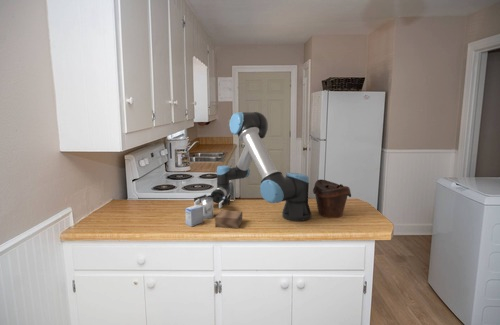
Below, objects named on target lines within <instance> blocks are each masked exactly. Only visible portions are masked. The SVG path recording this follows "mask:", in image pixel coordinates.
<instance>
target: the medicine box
mask: <svg viewBox="0 0 500 325" xmlns="http://www.w3.org/2000/svg"><path fill="white" fill-rule="evenodd" d="M184 211H185V216H184V217H185V225H186V226H188V227H194V226H196V225H199V224H202V223H204V219H203V206H201V204H199V205H194V204H193V205H191V206H189V207H186V208H185V210H184Z"/></svg>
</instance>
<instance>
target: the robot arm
mask: <svg viewBox="0 0 500 325" xmlns="http://www.w3.org/2000/svg"><path fill="white" fill-rule="evenodd" d="M268 122H269V121H268V119H267V117H266V115H264V114H263V113H262V112H258V111H253V112H251V111H250V112H249V111H245V112H244V111H243V112H242V111H240V112H235V113H233V114H232V115H231V118H230V120H229V130H230V132H231V134H233V135H235V136H236V135H237V136H238V137H237V138H239V140H240V141H241V142H243V143H244V144H245V145H244V147H243V150H242V152H241V154H240V157H239V159H238V161H237V163H236V165H235V167H230V166H229V165H225V164H224V165H217V167H216V188H215V189H214V190H213V191H212V192H211V193H210V195H209V194H208V195H207V194H203V195H201V196H195V197H194V198H193V206H194V205H201V198H203V197H212V198H213V203H216V204H217V203H218V209H221V208H222V207H224V206H226V205H230V199H229V197H228V196H229V195H230V193H231V191H232V187H231V185H230V181H234V180H241V179H246V178H248V177H249V176H250V175H251V174H250V165H251V163H252V161H253V163H254V164H255V165H254V166H256V169H257V171H258V173H259V175H260V177H261V179H260V185H259V189H260V195H261V197H262V199H263V200H264V201H265V202H267V203H270V204H275V203H276V204H278V203H281V202H285V203H284V206H283V209H282V211H281V216H282V218H283V219H285V220H288V221H292V222H304V221H308V220H310V219H312V212H311V209H310V204H309V188H310V186H309V184H310V180H309V176H308V175H307V174H304V173H298V172H297V173H296V172H287V173H286V174H285V176H284V174H283V172H282V171H280V170H277V167H276V166H275V164H274V161H273V160H272V158H271V156H270V154H269V152H268V150H267V148H266V146H265V144H264V143H263V141H262V140H263V139H264V138H265V137H266V135H267V133H268V128H269V123H268Z"/></svg>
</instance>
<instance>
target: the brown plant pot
mask: <svg viewBox="0 0 500 325" xmlns="http://www.w3.org/2000/svg"><path fill="white" fill-rule="evenodd" d="M312 192H313V194H314V195H315V201H316V206H317V207H316V208H317V210H318V211H317V212H318V214H319V215H320V216H322V217H325V218H340V217H343V214H344V210H345V206H346V202H347V200H348V197H349V198H351V197H352V193H351V189H350V187H349V186H345V185H343V184H342V183H341V184H338V183H336V182H333V181H329V180H326V179H317V180H316V181H315V182H314V187H313V189H312Z"/></svg>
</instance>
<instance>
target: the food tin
mask: <svg viewBox="0 0 500 325" xmlns="http://www.w3.org/2000/svg"><path fill="white" fill-rule="evenodd" d="M200 206H203V220H211V219H214V202H213V198H212V197H203V198H201V203H200Z"/></svg>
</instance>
